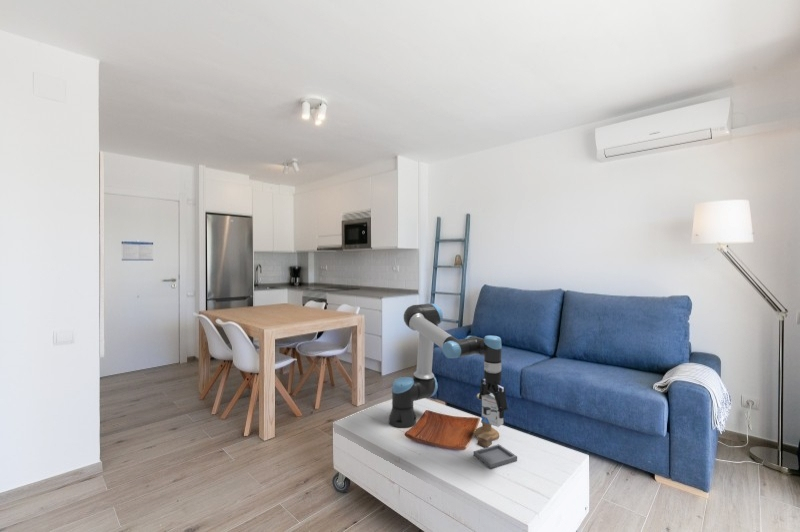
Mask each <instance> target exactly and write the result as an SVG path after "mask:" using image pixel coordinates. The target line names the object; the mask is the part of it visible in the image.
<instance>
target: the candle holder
mask: <svg viewBox="0 0 800 532" xmlns="http://www.w3.org/2000/svg"><path fill="white" fill-rule="evenodd" d="M479 394H480V392H479V393H477V394H476V398H477V400H479V401H481V399H479ZM490 394H492V395H493V393H492V392H490ZM480 422H481V424H482V426H481V425H480V427H477V428H476V429H475V430H476V431H475V430H474V435H475V437H476V438H478V436H479V435H481V434H482V433H484V434H487V435H490V436H492V441H496V440H498V439H499V437H500V433H499V431H498V430H497V429H495V428H494V427H492V425H491V424H488V423H484V422H482V419H481V421H480Z"/></svg>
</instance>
